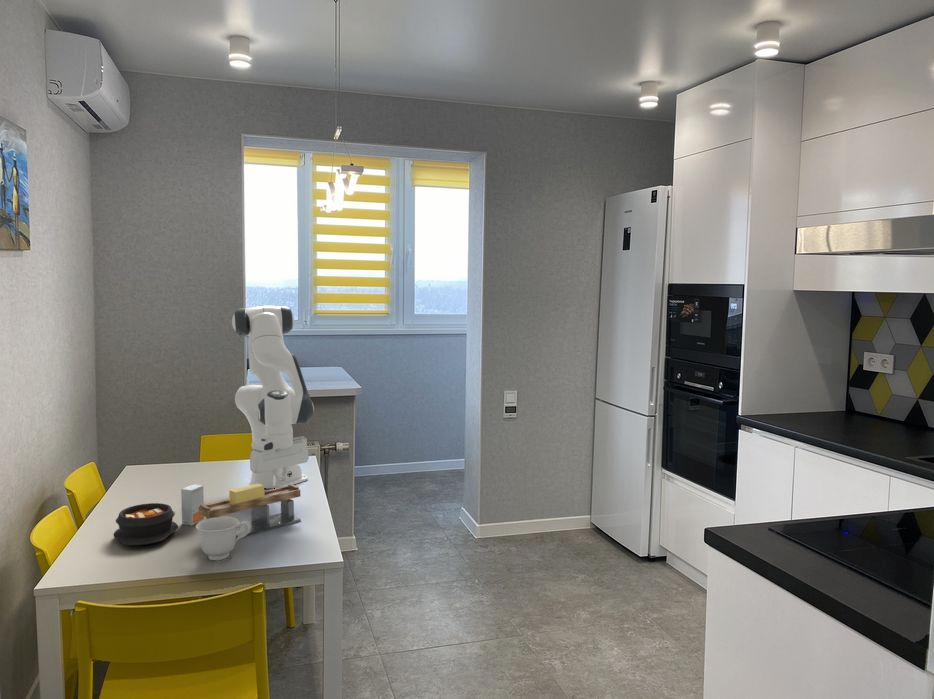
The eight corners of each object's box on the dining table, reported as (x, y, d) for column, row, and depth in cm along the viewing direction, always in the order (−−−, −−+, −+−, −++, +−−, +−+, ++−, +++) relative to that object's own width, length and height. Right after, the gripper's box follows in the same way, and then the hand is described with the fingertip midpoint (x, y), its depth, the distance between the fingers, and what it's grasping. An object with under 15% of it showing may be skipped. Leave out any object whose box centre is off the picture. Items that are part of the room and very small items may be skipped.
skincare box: (192, 526, 234) (190, 490, 233) (181, 524, 236) (180, 488, 235) (204, 520, 240) (203, 485, 239) (194, 518, 241) (193, 483, 240)
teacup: (250, 561, 206) (249, 527, 205) (195, 566, 202) (194, 532, 201) (250, 545, 218) (249, 513, 217) (198, 551, 213) (197, 518, 212)
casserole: (177, 546, 217) (176, 519, 216) (109, 554, 210) (108, 527, 209) (179, 519, 240) (178, 495, 239) (117, 526, 234) (116, 501, 233)
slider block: (258, 496, 235) (258, 483, 234) (264, 499, 232) (264, 485, 231) (229, 503, 228) (229, 489, 227) (235, 506, 225) (235, 492, 224)
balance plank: (289, 491, 245) (289, 483, 245) (300, 496, 240) (300, 487, 240) (198, 513, 223) (198, 504, 222) (208, 518, 218) (208, 509, 217)
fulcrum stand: (285, 514, 246) (284, 491, 245) (300, 521, 239) (300, 498, 238) (200, 536, 225) (199, 511, 224) (215, 544, 218) (214, 519, 217)
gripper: (301, 433, 246) (302, 472, 248) (246, 444, 232) (248, 485, 234) (311, 436, 242) (312, 475, 244) (256, 447, 228) (258, 489, 229)
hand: (280, 480), depth 239 cm, fingers closed
